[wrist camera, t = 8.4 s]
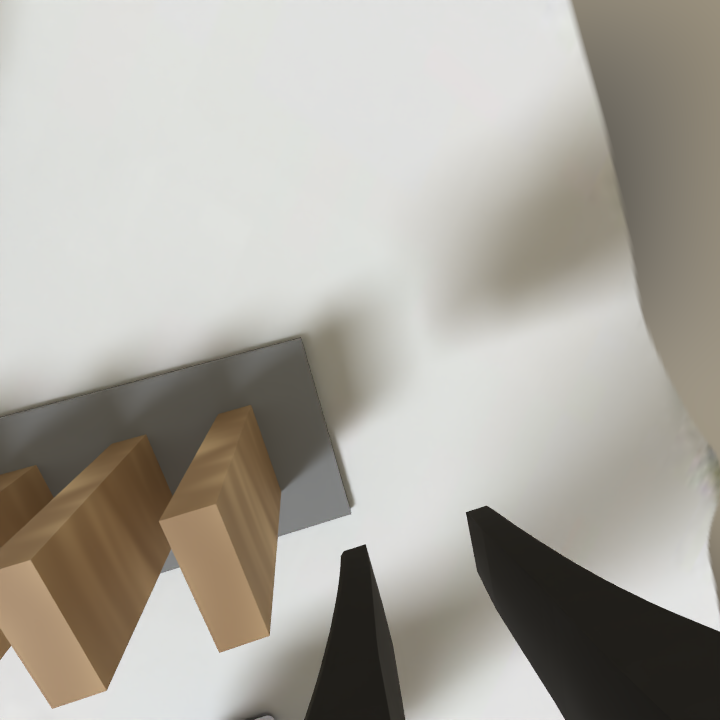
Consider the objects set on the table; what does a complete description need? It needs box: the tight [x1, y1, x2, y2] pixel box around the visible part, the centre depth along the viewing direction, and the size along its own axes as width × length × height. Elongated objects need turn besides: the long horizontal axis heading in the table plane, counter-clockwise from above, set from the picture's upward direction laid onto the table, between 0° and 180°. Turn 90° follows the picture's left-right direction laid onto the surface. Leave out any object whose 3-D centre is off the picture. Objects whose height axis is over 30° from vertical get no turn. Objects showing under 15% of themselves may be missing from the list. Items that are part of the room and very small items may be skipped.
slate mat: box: [0, 338, 351, 573], centre depth 18 cm, size 10×28×1 cm, turn 104°
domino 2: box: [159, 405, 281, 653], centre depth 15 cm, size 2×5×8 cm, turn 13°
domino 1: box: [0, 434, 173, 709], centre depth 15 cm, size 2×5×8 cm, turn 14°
